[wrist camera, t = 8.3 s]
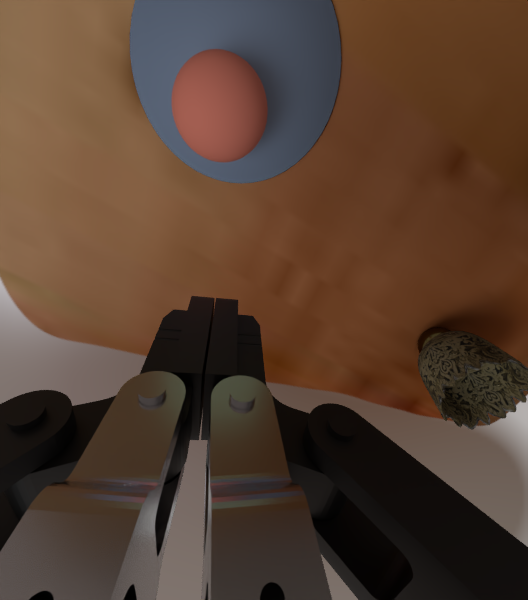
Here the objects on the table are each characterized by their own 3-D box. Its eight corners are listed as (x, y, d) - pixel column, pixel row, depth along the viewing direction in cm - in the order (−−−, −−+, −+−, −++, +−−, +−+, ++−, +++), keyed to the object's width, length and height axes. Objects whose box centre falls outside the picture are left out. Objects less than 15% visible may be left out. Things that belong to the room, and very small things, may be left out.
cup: (381, 347, 31) (423, 409, 24) (438, 295, 28) (504, 348, 21) (426, 375, 33) (475, 439, 26) (481, 330, 31) (553, 388, 24)
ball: (182, 172, 16) (180, 159, 20) (279, 164, 17) (257, 154, 21) (159, 38, 13) (163, 58, 17) (278, 38, 14) (253, 57, 18)
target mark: (121, -113, 15) (120, -116, 14) (366, -49, 16) (368, -51, 16) (138, 169, 21) (137, 169, 21) (314, 193, 23) (315, 194, 22)
